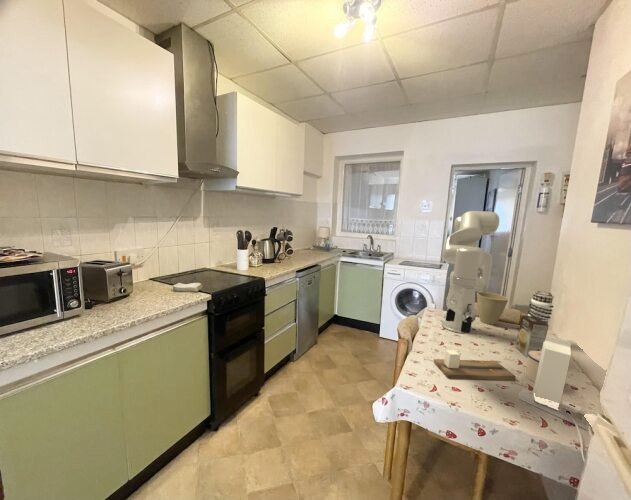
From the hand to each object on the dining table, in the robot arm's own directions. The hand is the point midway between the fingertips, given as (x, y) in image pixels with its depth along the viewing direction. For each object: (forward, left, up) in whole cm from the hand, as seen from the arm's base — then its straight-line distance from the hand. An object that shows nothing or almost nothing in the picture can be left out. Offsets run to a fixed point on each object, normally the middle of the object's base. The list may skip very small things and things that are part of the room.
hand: (457, 326), depth 98 cm
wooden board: (0, +9, -18) cm, 20 cm away
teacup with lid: (+3, +33, -18) cm, 38 cm away
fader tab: (0, 0, -16) cm, 16 cm away
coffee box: (-15, +45, -18) cm, 51 cm away
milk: (+16, +23, -18) cm, 33 cm away
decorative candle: (-29, +61, -18) cm, 70 cm away
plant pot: (-49, +51, -18) cm, 73 cm away
